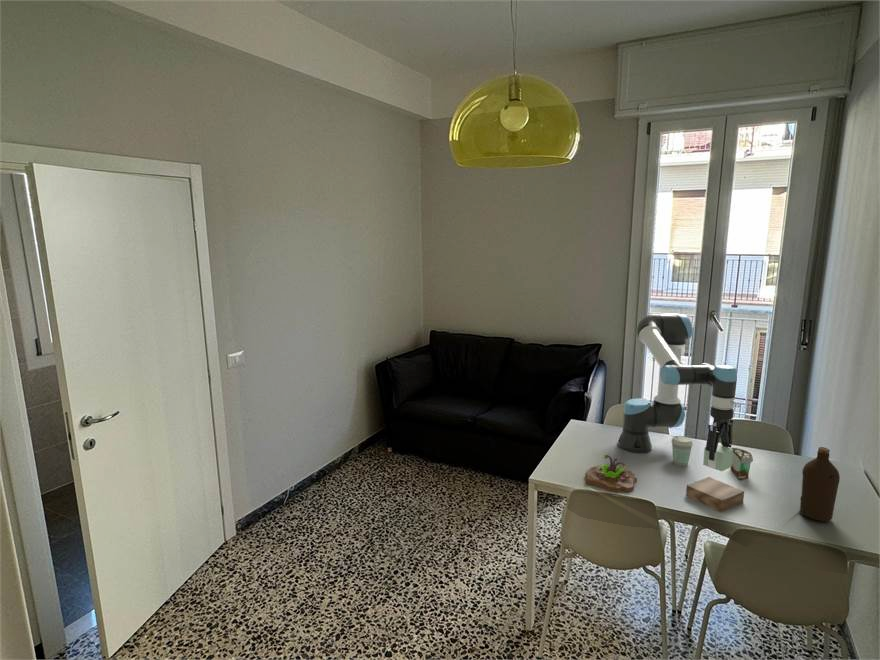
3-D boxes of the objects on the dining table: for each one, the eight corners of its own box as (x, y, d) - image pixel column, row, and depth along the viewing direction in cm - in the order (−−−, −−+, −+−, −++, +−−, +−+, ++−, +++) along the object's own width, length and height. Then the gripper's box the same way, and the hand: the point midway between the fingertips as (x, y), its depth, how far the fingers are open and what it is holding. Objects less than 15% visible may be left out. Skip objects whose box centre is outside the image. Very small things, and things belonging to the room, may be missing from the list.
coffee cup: (674, 458, 229) (676, 433, 227) (694, 464, 223) (696, 438, 221) (666, 464, 223) (668, 438, 221) (686, 470, 217) (688, 444, 215)
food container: (756, 482, 205) (758, 459, 204) (739, 481, 207) (742, 458, 205) (744, 469, 217) (746, 447, 216) (729, 468, 219) (731, 446, 217)
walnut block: (685, 497, 195) (686, 485, 194) (707, 488, 202) (708, 476, 201) (721, 513, 183) (722, 500, 182) (743, 503, 190) (744, 491, 189)
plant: (591, 467, 222) (593, 443, 220) (638, 476, 213) (640, 451, 211) (580, 485, 205) (581, 459, 203) (631, 497, 195) (632, 470, 194)
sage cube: (703, 464, 191) (704, 447, 190) (712, 460, 195) (714, 443, 194) (721, 471, 185) (723, 453, 184) (731, 466, 189) (733, 449, 188)
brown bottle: (840, 517, 179) (849, 451, 175) (824, 525, 174) (833, 457, 170) (807, 504, 188) (815, 440, 184) (791, 511, 183) (799, 446, 179)
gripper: (718, 414, 178) (713, 475, 181) (746, 404, 189) (740, 462, 192) (697, 409, 184) (693, 468, 187) (725, 399, 195) (721, 455, 198)
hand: (717, 465), depth 190 cm, fingers closed on sage cube, 7 cm apart
